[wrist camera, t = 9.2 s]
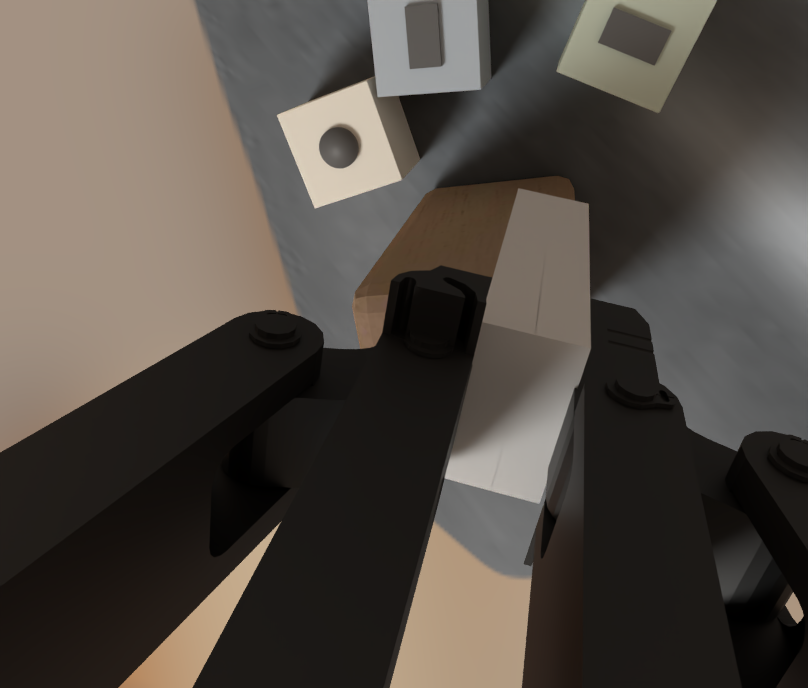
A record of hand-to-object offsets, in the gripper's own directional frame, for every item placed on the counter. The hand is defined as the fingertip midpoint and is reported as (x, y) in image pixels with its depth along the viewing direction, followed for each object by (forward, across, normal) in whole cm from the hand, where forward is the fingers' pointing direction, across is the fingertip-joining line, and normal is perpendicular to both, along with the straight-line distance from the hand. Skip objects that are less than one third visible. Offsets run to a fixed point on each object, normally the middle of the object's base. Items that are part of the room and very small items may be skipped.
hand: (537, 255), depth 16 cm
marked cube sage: (+34, +3, +2) cm, 34 cm away
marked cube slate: (+34, -8, 0) cm, 35 cm away
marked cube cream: (+34, -12, -7) cm, 36 cm away
